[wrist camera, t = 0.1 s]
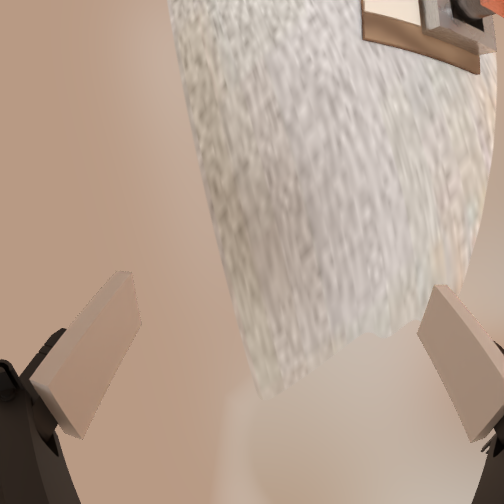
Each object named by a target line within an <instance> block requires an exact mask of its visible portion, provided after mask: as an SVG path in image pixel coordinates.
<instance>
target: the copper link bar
mask: <svg viewBox="0 0 504 504" xmlns="http://www.w3.org/2000/svg"><path fill="white" fill-rule="evenodd" d="M450 3H451V10H452V17H453V18H455V19H458V20H460V21H462V22H464V23H470V22H472V21H475V20H478V19H481V18H484V17H487V16H490V15H493V14H498V15H500V16H502V17H503V18H504V0H450Z"/></svg>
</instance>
